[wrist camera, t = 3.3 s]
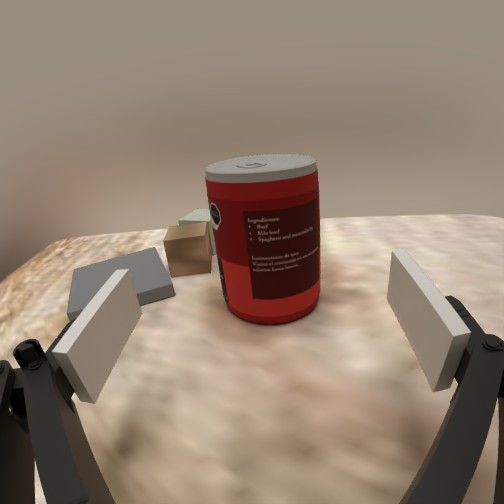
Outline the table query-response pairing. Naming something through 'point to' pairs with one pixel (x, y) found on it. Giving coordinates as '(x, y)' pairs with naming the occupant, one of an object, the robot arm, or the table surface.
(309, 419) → the table surface
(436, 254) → the table surface
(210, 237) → the sage painted block
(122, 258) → the plate
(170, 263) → the teak block
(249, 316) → the canned food
